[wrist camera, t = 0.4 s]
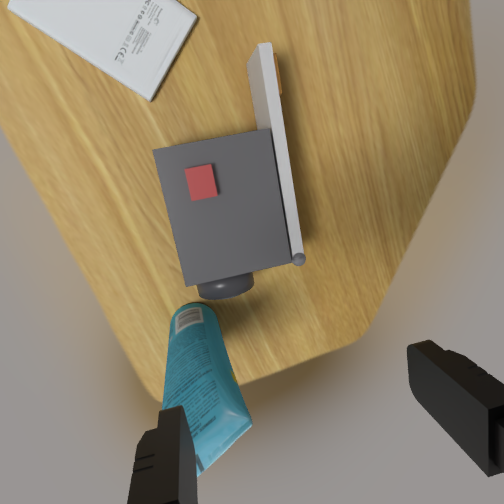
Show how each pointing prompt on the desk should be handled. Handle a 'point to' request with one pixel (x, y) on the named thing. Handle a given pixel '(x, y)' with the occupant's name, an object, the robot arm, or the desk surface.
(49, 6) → the external hard drive
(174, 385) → the tube
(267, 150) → the camera body
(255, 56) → the door
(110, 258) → the desk surface
